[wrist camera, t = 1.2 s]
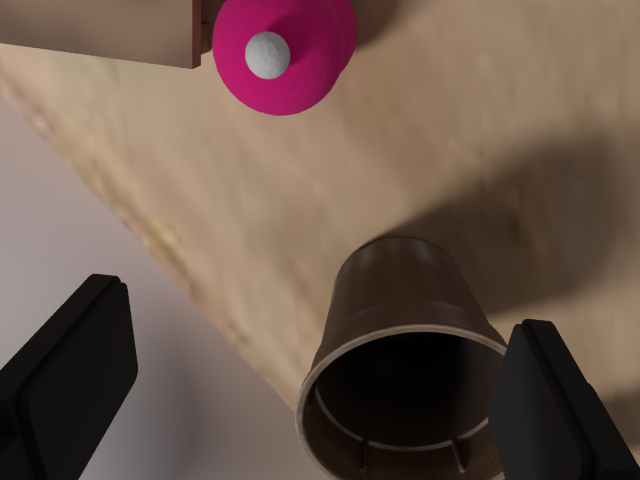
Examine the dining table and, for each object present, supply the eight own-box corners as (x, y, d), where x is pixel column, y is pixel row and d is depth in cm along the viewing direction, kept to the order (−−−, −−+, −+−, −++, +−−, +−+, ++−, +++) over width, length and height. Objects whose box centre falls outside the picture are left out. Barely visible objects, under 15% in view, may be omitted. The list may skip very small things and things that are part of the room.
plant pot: (469, 364, 49) (517, 515, 35) (312, 356, 50) (295, 499, 36) (498, 219, 42) (574, 333, 28) (314, 211, 43) (293, 318, 28)
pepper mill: (245, 51, 37) (145, 98, 19) (285, -46, 34) (211, -95, 16) (328, 96, 38) (306, 180, 20) (374, 6, 35) (395, 13, 17)
